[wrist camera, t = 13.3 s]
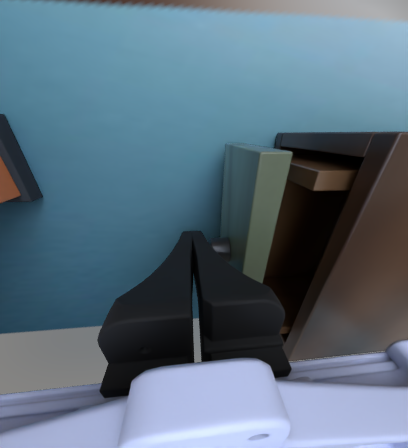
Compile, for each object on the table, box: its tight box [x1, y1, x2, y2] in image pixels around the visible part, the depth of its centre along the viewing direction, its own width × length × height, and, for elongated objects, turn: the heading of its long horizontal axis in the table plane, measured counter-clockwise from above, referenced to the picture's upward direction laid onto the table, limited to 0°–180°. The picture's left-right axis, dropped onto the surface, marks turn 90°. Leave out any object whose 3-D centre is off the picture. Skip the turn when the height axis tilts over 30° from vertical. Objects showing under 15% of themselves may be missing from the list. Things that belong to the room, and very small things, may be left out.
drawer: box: [209, 143, 365, 334], centre depth 11 cm, size 11×12×6 cm
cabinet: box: [275, 132, 408, 361], centre depth 12 cm, size 11×14×8 cm
